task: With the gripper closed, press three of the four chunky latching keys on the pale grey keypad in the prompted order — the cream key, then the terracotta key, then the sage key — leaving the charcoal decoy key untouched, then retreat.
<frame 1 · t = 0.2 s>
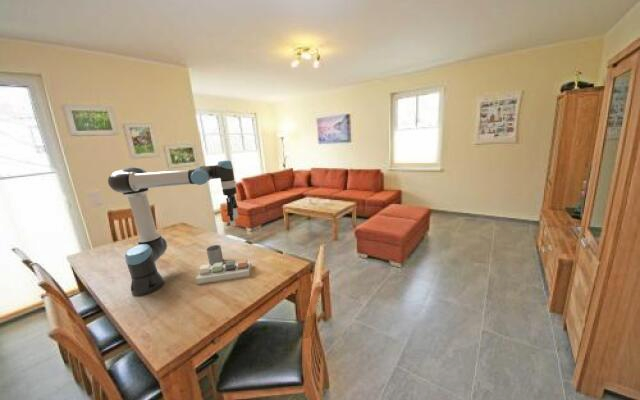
hand: (234, 221, 151), 27 cm above the table, fingers open, 13 cm apart
key cream: (205, 269, 142), point 5 cm above the table, slide at 0.0 cm
key sage: (218, 267, 143), point 5 cm above the table, slide at 0.0 cm
key terracotta: (243, 264, 146), point 5 cm above the table, slide at 0.0 cm
cup: (216, 262, 161), on the table
key charcoal: (230, 266, 144), point 5 cm above the table, slide at 0.0 cm
keypad: (225, 274, 145), on the table
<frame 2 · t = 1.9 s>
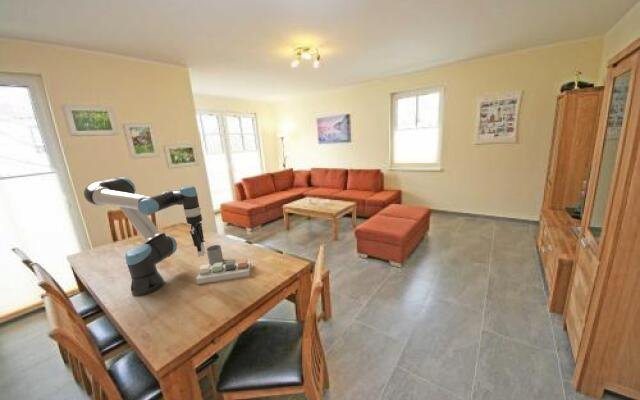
hand: (202, 254, 140), 14 cm above the table, fingers open, 2 cm apart
nothing on the table moved.
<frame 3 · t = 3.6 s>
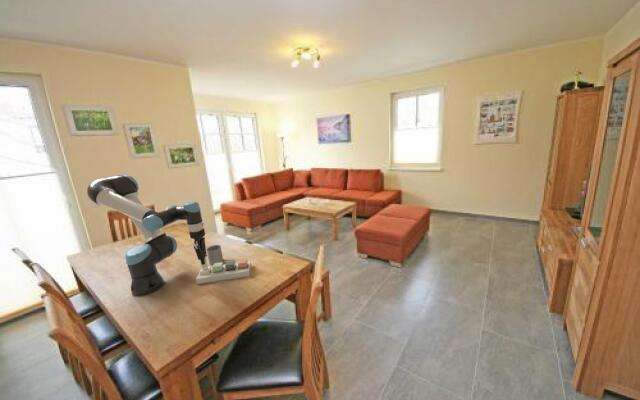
hand: (205, 268, 142), 6 cm above the table, fingers closed
key cream: (205, 271, 143), point 4 cm above the table, slide at 1.3 cm, touching gripper
everything else where it was.
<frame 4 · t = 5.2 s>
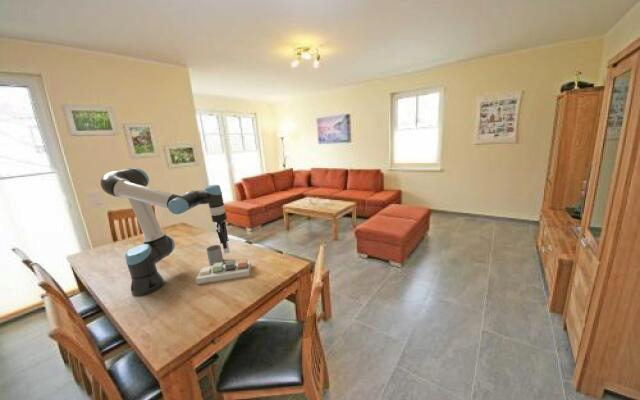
hand: (227, 252, 142), 14 cm above the table, fingers closed
key cream: (205, 272, 143), point 3 cm above the table, slide at 1.8 cm
everything else where it was.
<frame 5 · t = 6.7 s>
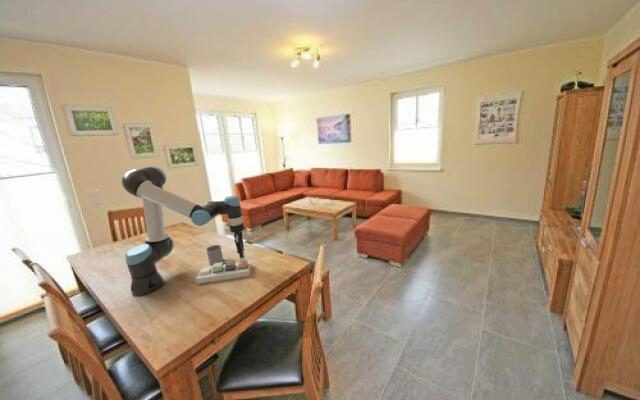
hand: (242, 261, 145), 7 cm above the table, fingers closed
key terracotta: (243, 265, 146), point 4 cm above the table, slide at 0.7 cm, touching gripper
everything else where it was.
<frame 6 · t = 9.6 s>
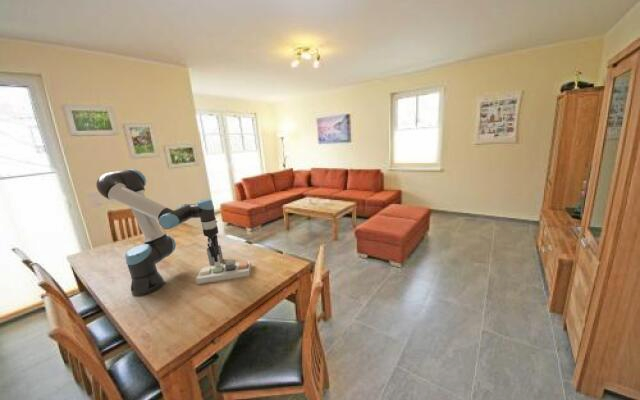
hand: (217, 265, 143), 6 cm above the table, fingers closed
key sage: (218, 269, 144), point 4 cm above the table, slide at 0.9 cm, touching gripper
key terracotta: (243, 266, 146), point 3 cm above the table, slide at 1.8 cm
everything else where it was.
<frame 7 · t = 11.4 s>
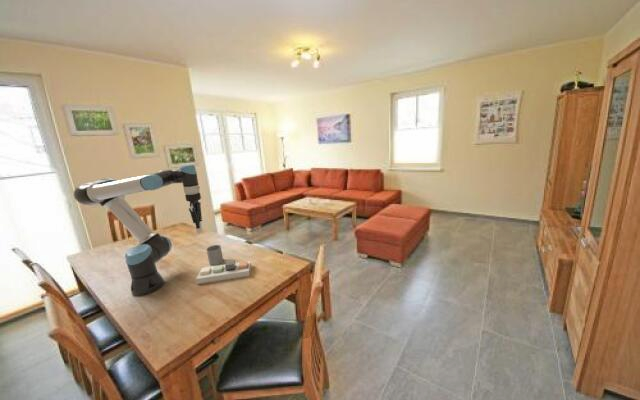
hand: (199, 232, 144), 25 cm above the table, fingers closed
key sage: (218, 270, 144), point 3 cm above the table, slide at 1.8 cm
everything else where it was.
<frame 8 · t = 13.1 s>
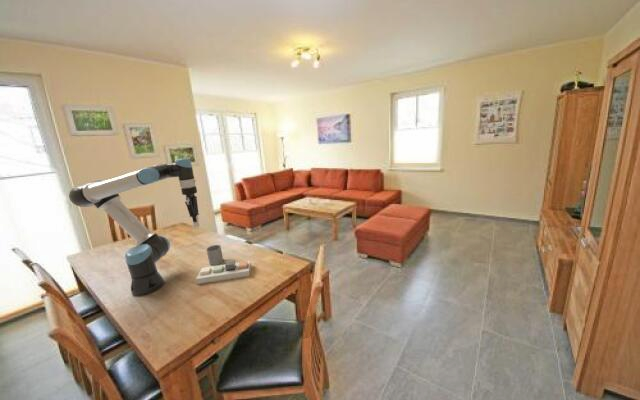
hand: (197, 226, 144), 28 cm above the table, fingers closed
nothing on the table moved.
at the end: key cream slide at 1.8 cm; key terracotta slide at 1.8 cm; key sage slide at 1.8 cm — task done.
